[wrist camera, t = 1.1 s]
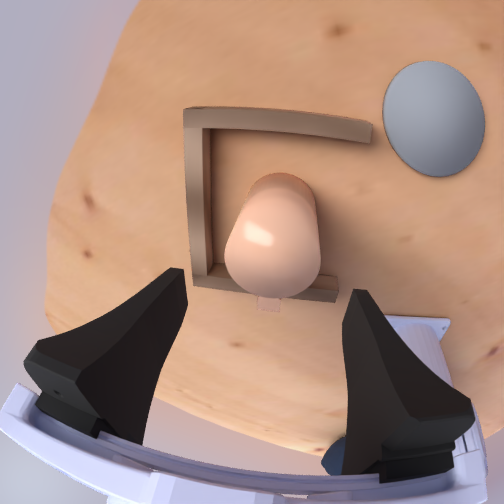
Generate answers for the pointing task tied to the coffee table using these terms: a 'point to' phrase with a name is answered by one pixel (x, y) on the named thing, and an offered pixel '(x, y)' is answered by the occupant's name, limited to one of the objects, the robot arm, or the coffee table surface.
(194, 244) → the holder
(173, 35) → the coffee table surface
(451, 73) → the coaster
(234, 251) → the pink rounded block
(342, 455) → the decorative stone
